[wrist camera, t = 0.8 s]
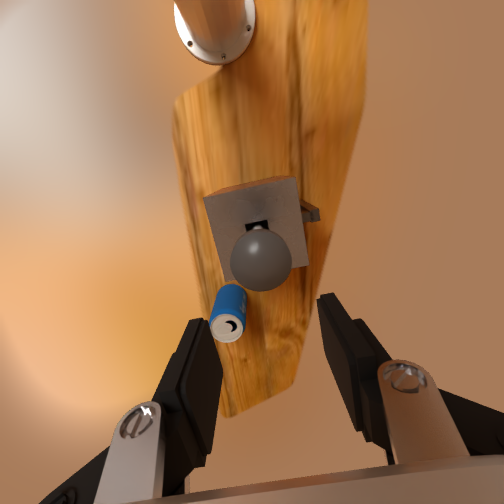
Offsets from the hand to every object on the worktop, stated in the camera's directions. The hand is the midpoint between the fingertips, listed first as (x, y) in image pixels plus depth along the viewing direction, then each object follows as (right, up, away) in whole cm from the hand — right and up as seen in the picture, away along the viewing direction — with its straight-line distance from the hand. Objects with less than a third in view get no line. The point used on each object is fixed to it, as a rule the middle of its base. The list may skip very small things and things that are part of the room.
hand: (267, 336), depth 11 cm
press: (+2, +12, +38) cm, 39 cm away
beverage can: (-5, -6, +43) cm, 44 cm away
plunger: (0, +9, +28) cm, 29 cm away
